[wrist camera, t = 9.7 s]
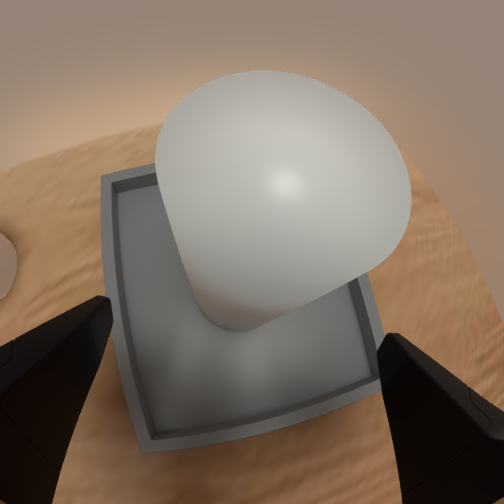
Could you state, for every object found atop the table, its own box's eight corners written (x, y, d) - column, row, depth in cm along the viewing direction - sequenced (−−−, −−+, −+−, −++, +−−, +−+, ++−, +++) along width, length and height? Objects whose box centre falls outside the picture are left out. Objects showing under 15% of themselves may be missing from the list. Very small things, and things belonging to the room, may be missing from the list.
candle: (292, 319, 17) (444, 251, 5) (204, 340, 16) (176, 319, 4) (270, 236, 19) (351, 75, 7) (186, 252, 18) (151, 81, 6)
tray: (375, 380, 18) (394, 383, 15) (150, 440, 15) (142, 453, 12) (307, 162, 23) (317, 143, 20) (111, 193, 20) (101, 175, 17)
